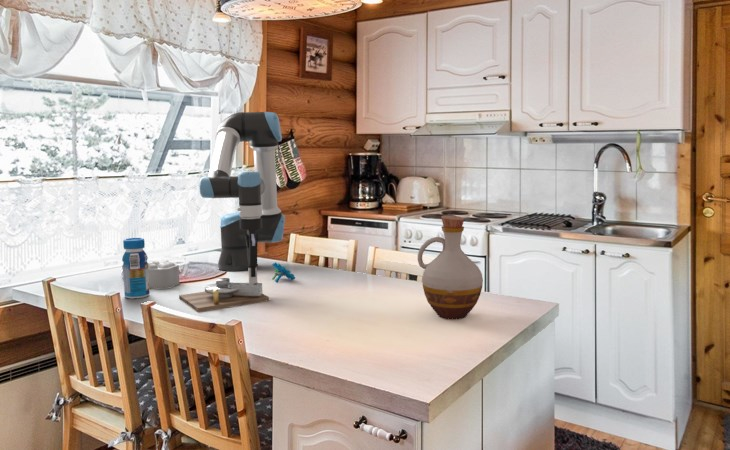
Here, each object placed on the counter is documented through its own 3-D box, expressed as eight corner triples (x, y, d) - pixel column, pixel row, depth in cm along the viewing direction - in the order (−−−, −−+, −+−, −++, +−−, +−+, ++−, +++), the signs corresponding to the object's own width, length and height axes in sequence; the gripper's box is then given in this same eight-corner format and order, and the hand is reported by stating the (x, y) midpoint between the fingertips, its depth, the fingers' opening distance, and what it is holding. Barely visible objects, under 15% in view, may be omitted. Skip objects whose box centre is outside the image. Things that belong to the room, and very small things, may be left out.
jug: (409, 320, 176) (409, 218, 172) (425, 305, 193) (425, 212, 188) (476, 327, 169) (477, 221, 165) (487, 310, 186) (488, 214, 182)
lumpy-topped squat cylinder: (165, 289, 218) (164, 265, 217) (136, 287, 222) (134, 264, 221) (183, 283, 228) (181, 260, 227) (154, 280, 232) (152, 258, 231)
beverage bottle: (118, 298, 206) (114, 240, 203) (136, 292, 214) (132, 236, 211) (138, 300, 203) (134, 241, 200) (155, 294, 211) (152, 237, 208)
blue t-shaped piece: (300, 277, 227) (281, 261, 223) (290, 290, 225) (271, 273, 221) (288, 276, 236) (269, 260, 233) (279, 288, 234) (260, 272, 230)
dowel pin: (213, 303, 193) (212, 290, 192) (217, 302, 194) (217, 289, 193) (214, 304, 191) (214, 291, 191) (219, 304, 192) (219, 290, 192)
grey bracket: (199, 297, 197) (198, 283, 196) (212, 289, 209) (212, 275, 208) (255, 299, 195) (255, 284, 194) (266, 290, 207) (265, 276, 206)
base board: (179, 298, 204) (178, 289, 204) (246, 288, 217) (245, 280, 217) (197, 311, 188) (197, 302, 187) (269, 300, 201) (268, 291, 200)
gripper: (237, 215, 209) (240, 282, 212) (241, 220, 197) (244, 290, 200) (259, 214, 211) (261, 280, 214) (264, 219, 199) (266, 288, 202)
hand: (253, 285), depth 207 cm, fingers closed
